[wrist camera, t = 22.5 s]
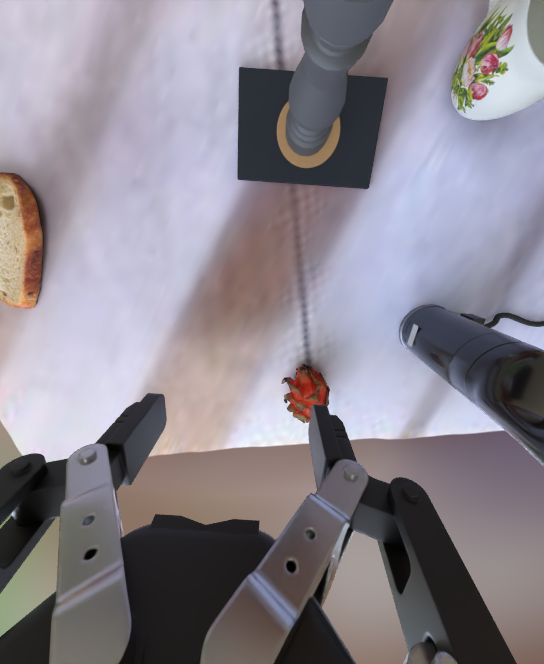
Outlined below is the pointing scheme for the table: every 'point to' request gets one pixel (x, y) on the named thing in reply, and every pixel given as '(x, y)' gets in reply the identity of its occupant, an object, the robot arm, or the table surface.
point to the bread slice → (19, 243)
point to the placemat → (271, 144)
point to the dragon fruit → (306, 392)
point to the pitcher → (502, 62)
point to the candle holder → (327, 66)
